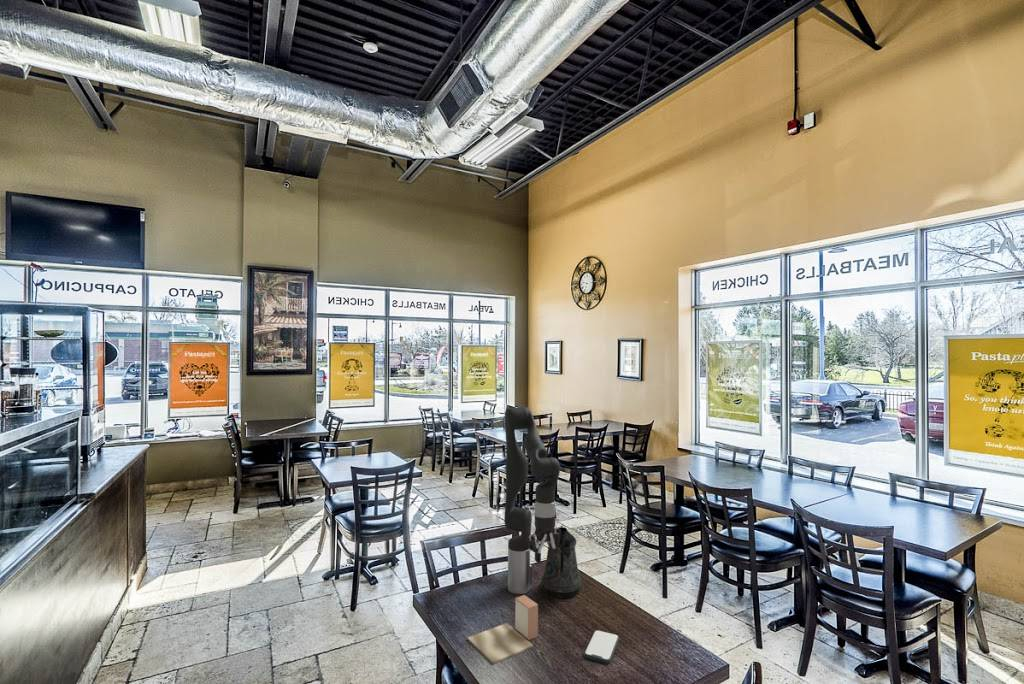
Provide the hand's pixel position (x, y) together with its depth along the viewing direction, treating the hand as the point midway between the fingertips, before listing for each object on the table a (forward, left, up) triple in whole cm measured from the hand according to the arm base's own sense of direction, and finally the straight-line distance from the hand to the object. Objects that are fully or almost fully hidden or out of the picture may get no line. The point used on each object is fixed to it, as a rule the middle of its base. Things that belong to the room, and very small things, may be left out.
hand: (544, 560), depth 177 cm
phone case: (-8, +21, -24) cm, 33 cm away
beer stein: (-23, -16, -24) cm, 37 cm away
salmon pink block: (+8, 0, -24) cm, 25 cm away
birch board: (+19, 0, -23) cm, 30 cm away
